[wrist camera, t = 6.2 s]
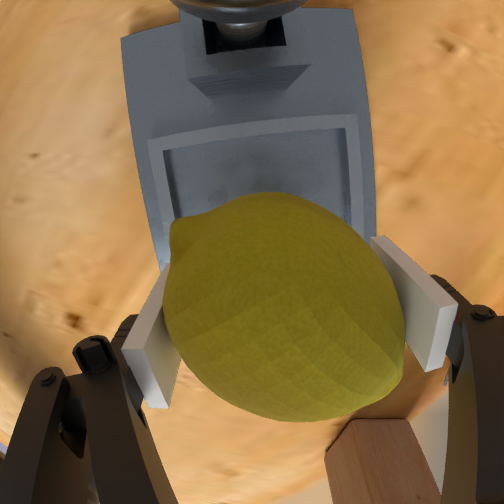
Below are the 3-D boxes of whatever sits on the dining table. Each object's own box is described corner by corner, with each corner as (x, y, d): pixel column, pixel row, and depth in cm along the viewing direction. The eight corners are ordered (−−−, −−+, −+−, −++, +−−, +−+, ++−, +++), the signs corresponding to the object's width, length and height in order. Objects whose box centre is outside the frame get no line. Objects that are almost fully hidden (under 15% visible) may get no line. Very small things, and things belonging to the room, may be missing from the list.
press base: (176, 307, 29) (148, 387, 19) (127, 42, 20) (64, 1, 10) (368, 282, 28) (417, 351, 18) (346, 15, 19) (400, -38, 10)
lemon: (145, 244, 15) (67, 346, 7) (266, 129, 13) (289, 126, 5) (288, 371, 18) (304, 489, 10) (397, 291, 16) (471, 392, 9)
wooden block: (409, 415, 36) (457, 528, 18) (376, 454, 40) (407, 556, 21) (350, 415, 35) (390, 551, 17) (320, 455, 39) (342, 572, 20)
